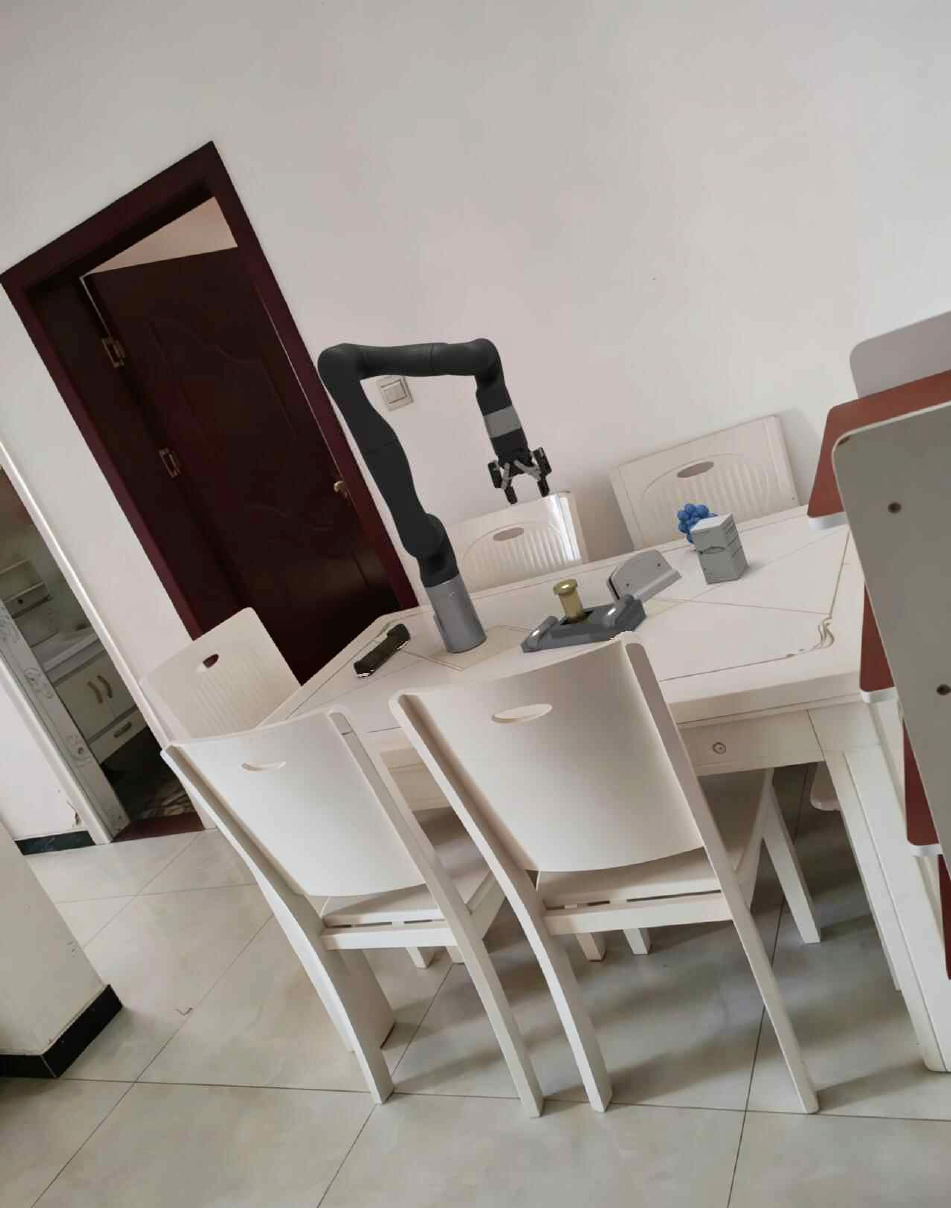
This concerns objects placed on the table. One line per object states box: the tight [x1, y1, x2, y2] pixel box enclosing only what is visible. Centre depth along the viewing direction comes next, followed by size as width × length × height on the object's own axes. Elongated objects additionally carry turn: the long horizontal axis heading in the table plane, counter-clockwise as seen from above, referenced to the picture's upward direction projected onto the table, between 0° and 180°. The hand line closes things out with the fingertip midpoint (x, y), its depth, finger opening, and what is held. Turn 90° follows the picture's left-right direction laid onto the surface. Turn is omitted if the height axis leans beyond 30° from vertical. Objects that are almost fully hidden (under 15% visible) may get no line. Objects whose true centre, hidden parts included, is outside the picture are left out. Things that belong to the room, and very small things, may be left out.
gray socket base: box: [520, 594, 647, 653], centre depth 202 cm, size 26×11×6 cm, turn 57°
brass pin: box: [552, 578, 587, 624], centre depth 201 cm, size 5×5×12 cm
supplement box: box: [690, 513, 749, 585], centre depth 201 cm, size 7×7×13 cm
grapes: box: [676, 502, 719, 545], centre depth 224 cm, size 12×7×12 cm, turn 48°
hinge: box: [605, 549, 682, 604], centre depth 212 cm, size 17×5×10 cm, turn 126°
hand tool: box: [353, 622, 411, 675], centre depth 243 cm, size 23×5×6 cm, turn 149°
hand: (530, 499), depth 209 cm, fingers open, 8 cm apart
